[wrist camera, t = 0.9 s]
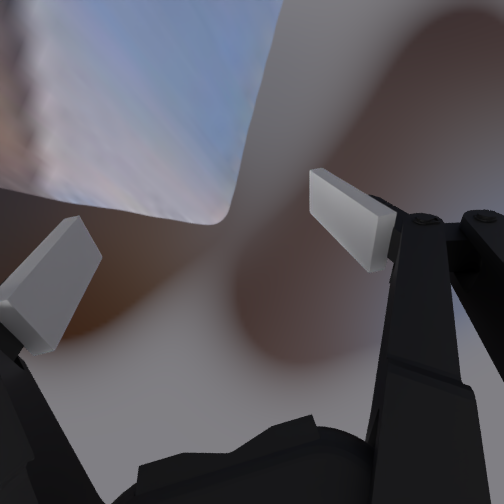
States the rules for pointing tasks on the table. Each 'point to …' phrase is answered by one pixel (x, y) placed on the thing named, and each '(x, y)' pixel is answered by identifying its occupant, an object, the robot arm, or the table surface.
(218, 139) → the table surface
